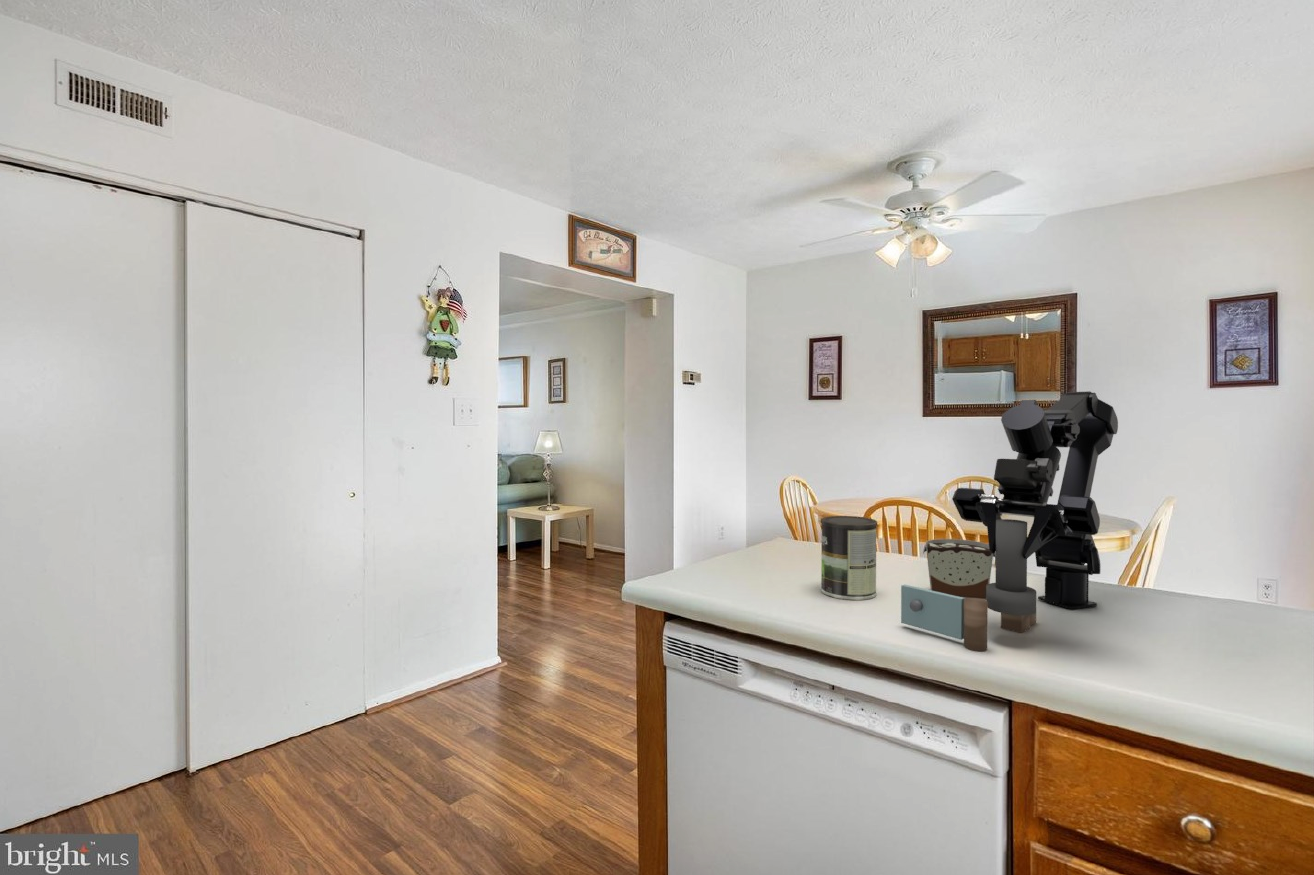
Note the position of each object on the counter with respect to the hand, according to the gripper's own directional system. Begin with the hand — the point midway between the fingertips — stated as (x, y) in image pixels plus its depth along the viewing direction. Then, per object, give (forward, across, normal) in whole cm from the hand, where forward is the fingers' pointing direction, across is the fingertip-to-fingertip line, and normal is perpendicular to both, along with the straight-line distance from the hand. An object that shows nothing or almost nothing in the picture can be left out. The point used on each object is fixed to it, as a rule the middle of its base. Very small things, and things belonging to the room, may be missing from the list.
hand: (1007, 554), depth 88 cm
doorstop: (+5, 0, +7) cm, 8 cm away
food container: (-5, -16, +24) cm, 30 cm away
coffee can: (+5, -30, +14) cm, 33 cm away
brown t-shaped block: (+7, -2, +12) cm, 14 cm away
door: (+13, -9, +5) cm, 16 cm away
